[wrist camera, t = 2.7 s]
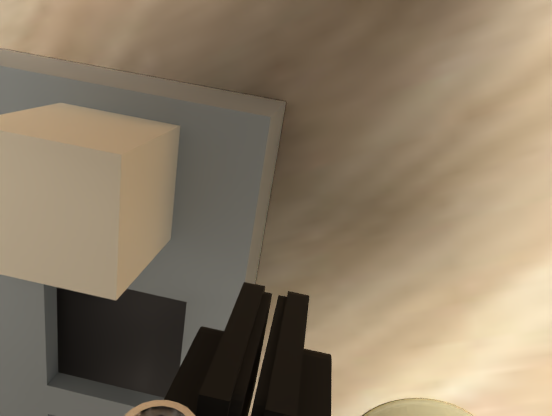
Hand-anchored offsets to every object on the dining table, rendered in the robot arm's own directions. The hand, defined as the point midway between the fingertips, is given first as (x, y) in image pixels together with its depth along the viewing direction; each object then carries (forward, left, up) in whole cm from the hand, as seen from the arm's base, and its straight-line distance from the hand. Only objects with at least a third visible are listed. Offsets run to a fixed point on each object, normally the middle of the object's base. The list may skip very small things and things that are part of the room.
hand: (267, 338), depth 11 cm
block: (-1, -8, -8) cm, 11 cm away
